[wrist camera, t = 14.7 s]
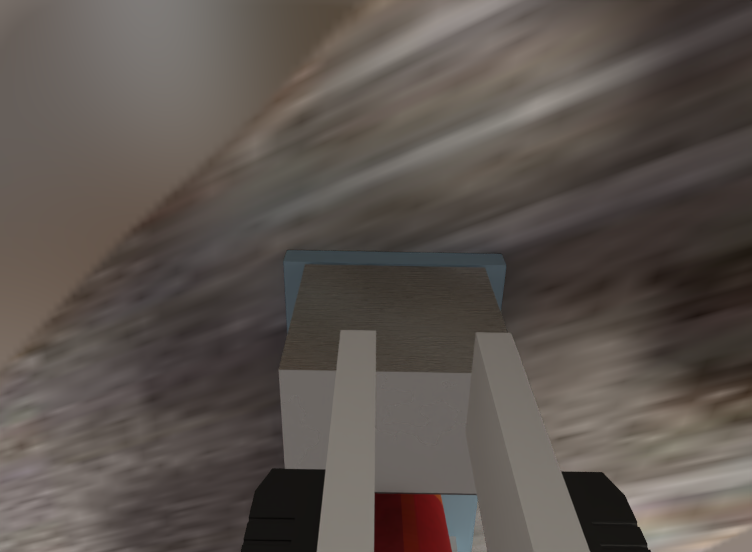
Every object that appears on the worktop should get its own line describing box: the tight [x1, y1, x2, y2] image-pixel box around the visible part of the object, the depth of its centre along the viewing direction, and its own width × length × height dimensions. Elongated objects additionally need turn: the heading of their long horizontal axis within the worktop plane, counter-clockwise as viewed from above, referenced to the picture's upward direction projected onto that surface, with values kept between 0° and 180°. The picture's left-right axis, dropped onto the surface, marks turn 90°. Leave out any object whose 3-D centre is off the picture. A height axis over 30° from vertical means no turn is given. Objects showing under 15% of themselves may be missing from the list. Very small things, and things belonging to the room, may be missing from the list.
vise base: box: [283, 250, 506, 552], centre depth 35 cm, size 12×23×12 cm, turn 179°
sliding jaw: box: [279, 264, 508, 495], centre depth 30 cm, size 10×7×10 cm
